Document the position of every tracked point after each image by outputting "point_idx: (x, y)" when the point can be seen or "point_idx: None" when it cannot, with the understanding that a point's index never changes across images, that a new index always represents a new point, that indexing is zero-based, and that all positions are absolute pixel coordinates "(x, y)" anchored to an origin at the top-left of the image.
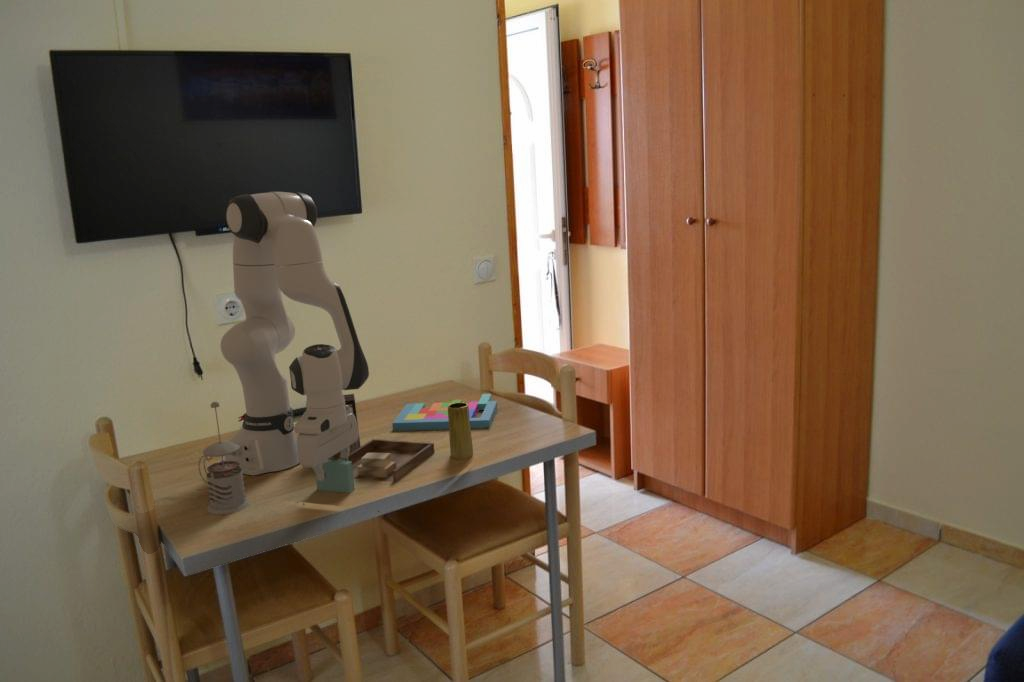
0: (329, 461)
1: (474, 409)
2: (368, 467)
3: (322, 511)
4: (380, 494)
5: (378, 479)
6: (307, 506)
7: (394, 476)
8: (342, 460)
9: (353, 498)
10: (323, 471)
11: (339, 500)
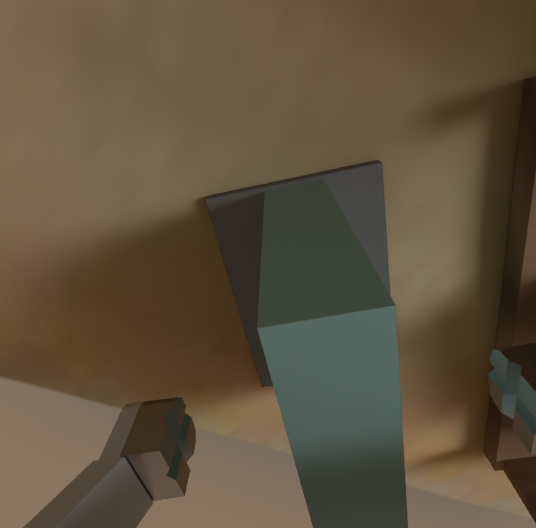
0: (345, 473)
1: None
2: None
3: (110, 375)
4: None
5: None
6: (98, 276)
7: (518, 488)
8: (526, 419)
9: None
10: (138, 519)
11: (246, 360)
